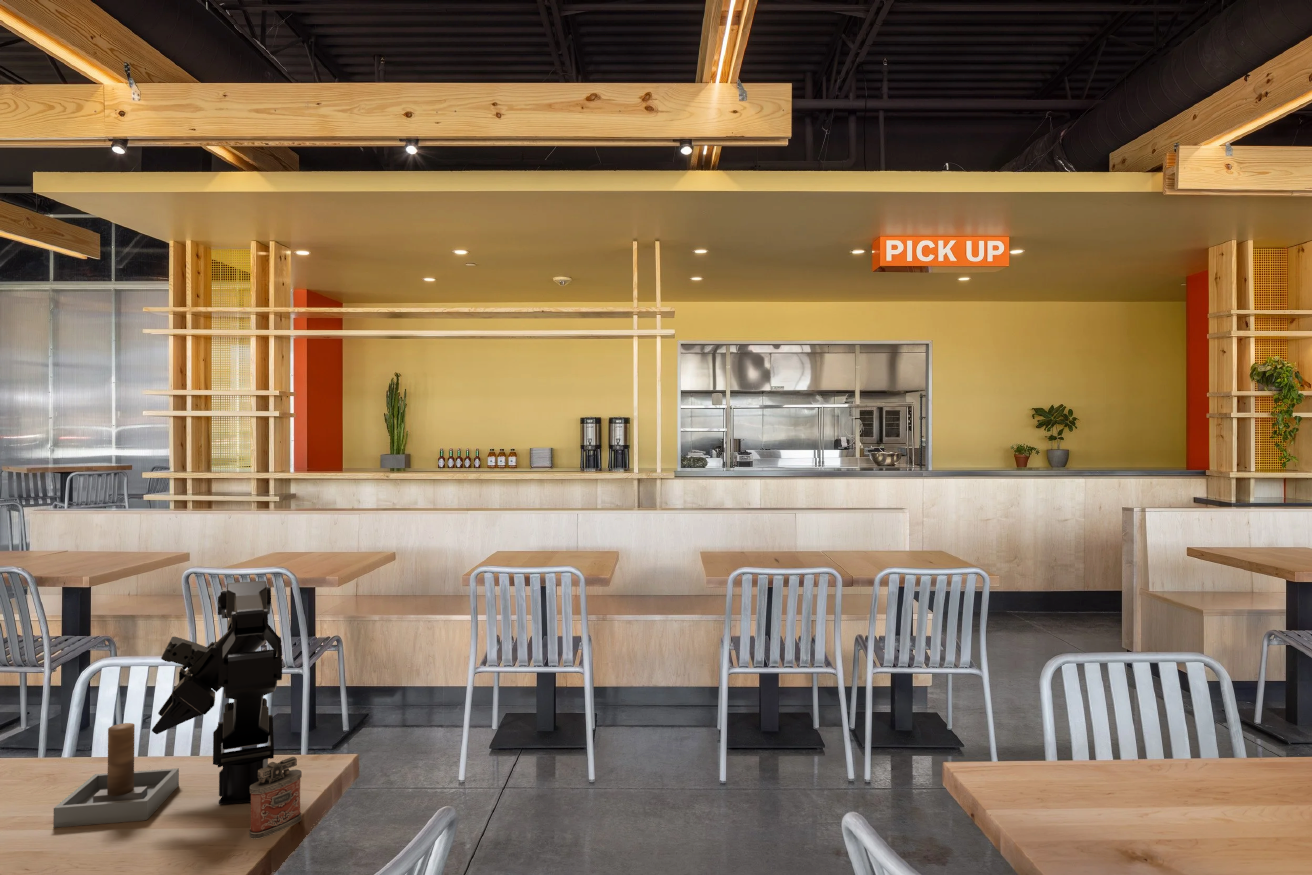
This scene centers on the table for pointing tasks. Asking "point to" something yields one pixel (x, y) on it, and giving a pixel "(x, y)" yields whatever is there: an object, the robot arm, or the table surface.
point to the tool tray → (85, 812)
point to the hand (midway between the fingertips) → (157, 723)
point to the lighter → (275, 799)
